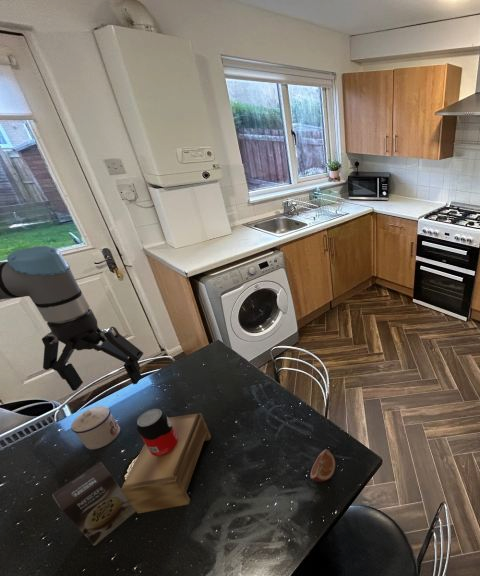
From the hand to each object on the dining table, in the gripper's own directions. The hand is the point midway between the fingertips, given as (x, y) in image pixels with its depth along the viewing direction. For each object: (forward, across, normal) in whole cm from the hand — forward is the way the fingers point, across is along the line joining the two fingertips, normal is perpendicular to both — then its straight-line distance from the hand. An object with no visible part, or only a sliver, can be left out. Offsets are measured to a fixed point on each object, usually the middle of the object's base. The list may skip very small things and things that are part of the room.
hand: (108, 383), depth 80 cm
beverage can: (+18, -11, +8) cm, 22 cm away
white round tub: (+29, +17, -9) cm, 35 cm away
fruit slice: (+28, -52, +15) cm, 62 cm away
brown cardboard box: (+29, 0, +18) cm, 34 cm away
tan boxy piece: (+29, -11, +8) cm, 32 cm away
